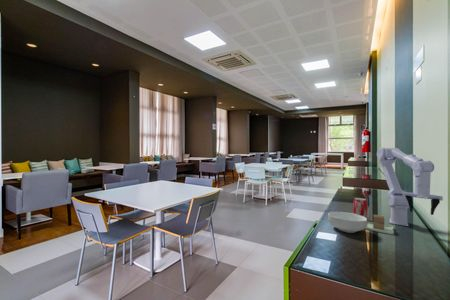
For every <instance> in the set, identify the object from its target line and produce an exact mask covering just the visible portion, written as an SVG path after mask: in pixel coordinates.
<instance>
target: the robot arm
mask: <svg viewBox="0 0 450 300" xmlns="http://www.w3.org/2000/svg"><path fill="white" fill-rule="evenodd" d="M376 157H377V159H378V162H379V163H380V167H381V170H382V173H383V175H384V178H385V182H386V183H387V186H388V189H389V191H388V192H387V193H386V202H387V204H388V206H389V207H390V218H389V219H388V220H389V224H392V225H398V226H399V225H400V226H404V227H405V226H406V227H409V223H408V209H409V212H410V213H413V199H414V198H418V199H427V200H430V215H431V216H434V213H435V211H436V209H437V207H438V206H439V205H440V203H441V202H443V200H444V199H443V198H444V197H443V195H436V194H431V176H432V174H431V173H433V171H434V170H435V164H434V163H433V162H432V161H431V160H424V159H423V158H421V157H417V156H416V154H412V153H411V154H406V153H405V152H403V151H401V149H400V148H397V147H379V148H378V149H377V151H376ZM398 159H399V160H402V161H403V164H404V165H405V166H408V167H409V168H411V170H413V175H414V192H407V191H405V190H404V189H402V187H401V185H400V182H399V180H398V177H397V175H396V172H395V169H394V167H393V164H395V163H396V161H397V160H398Z"/></svg>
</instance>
